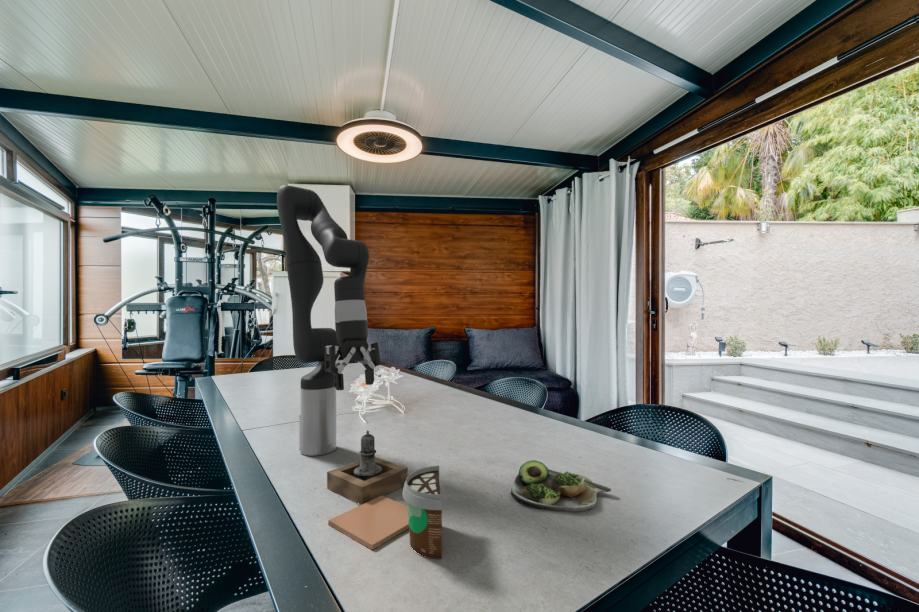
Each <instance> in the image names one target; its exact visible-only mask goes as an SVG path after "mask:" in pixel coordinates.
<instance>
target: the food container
mask: <svg viewBox="0 0 919 612" xmlns="http://www.w3.org/2000/svg"><path fill="white" fill-rule="evenodd" d="M440 485H441V483H440V465H432V466H426V467H422V468H419V469H416V470H415V471H414V470H413V471H412V472H411V473H410V474H409V475H408V477H407V479H406V481H405V484H404V486H403V487H402V488H403V489H402V498H403V500H404V501H405V502H406V503H407V505H406V506H407V508H408V521H409V529H408V532H409V545H411V546H410V548H411V547H412V548H413V550H415V551H416V552H417V553H419V554H421V555H423V556H422V557H424V556H426V557H425V558H427V557H429V558H428V559H435V560H437V559H439V560H441V559H442V558H443V526H442V525H443V502H442V501H443V496H442V494H441V488H440ZM412 548H411V549H412ZM413 550H412V551H413ZM417 553H416V554H417ZM419 554H418V555H419ZM421 555H420V556H421Z"/></svg>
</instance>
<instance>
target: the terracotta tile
mask: <svg viewBox="0 0 919 612" xmlns="http://www.w3.org/2000/svg"><path fill="white" fill-rule="evenodd" d="M328 525H329V526H330V527H332V528H333V529H335V530H336V531H338V532H340V533H342V534H343V535H345V536H346V537H349V538H350V539H352V540H354V541H356V542H357V543H360V544H361V545H362V544H363V546H364V547H366V546H367V547H368V549H369V548H370V549H369V550H371V549H373V550H375V549H376V547H377V548H378V547H380V546H382V545H383V544H385V543H387V542H388V541H390V540H392V539H393V537H394V538H396V537H397V536H398V534H399V533H400V534H402V533H403V532H405V531H407V530H409V521H408V508H407V505H405V504H402V503H400V502H398V501H396V500H394V499H391V498H389V497H386V496H385V495H384V496H379V497H377V498H375V499H373V500H371V501H369V502H367V503H364V504H362V505H360V504H359V505H358V506H356V507H354V508H351V509H349V510H348V511H345V512H343V513H341V514H339V515H337V516H335V517H333V518H330V519H328ZM400 534H399V535H400ZM396 535H397V536H396ZM391 538H392V539H391ZM389 539H390V540H389ZM386 541H387V542H386ZM384 542H385V543H384ZM382 543H383V544H382ZM381 544H382V545H381ZM367 547H366V548H367ZM374 548H375V549H374Z"/></svg>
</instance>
